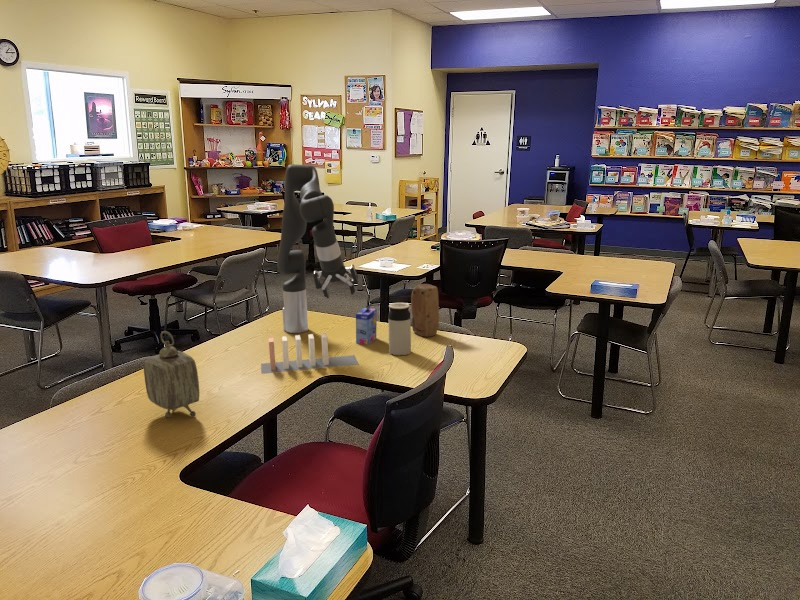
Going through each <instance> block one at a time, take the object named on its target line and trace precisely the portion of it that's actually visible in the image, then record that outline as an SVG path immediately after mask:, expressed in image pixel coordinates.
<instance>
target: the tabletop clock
mask: <svg viewBox="0 0 800 600" xmlns="http://www.w3.org/2000/svg"><path fill="white" fill-rule="evenodd" d="M163 334H165V335H167V336H168V337H170V340H171V344H170V341H169V340H166V341H165V340H164V339H163ZM159 338H160V341H161V342H162V344H163V345H165V346H164V347H162V348H161V349H160V350H159V353H158V354H155V355H152V356H149V357H147V359H146V360H145V361H144V362H143V373H144V374H143V375H144V384H145V390H146V394H147V398H148V400H149V401H150V402H151V403H153V404H154V405H156V406H158V407H160V408H163V409H165V410H167V412H165V414H164V416H165V417H166V418H167V419H168V418H170V417H171V416H172V413H171V412H170V411H174V410H177V409H180V408H185V409H186V410H187V411H188V412H189V416H190V417H192V418H194V417H196V414H197V413H196V411H194V410H193V411H192V409H191V408H190V406H189V405H191V404H195V403H197V402H199V401H200V381H199V374H198V369H197V364H196V361H195V360H196V359H194V358H193V357H192V356H191V355H190V354H187V353H185V352H183V351H181V350H177V348H176V347H175V346H174V345H175V339H174V337H173V334H172V333H171V332H169V331H167V330H163V331H161V333H160V337H159Z"/></svg>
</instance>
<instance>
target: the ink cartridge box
mask: <svg viewBox="0 0 800 600" xmlns="http://www.w3.org/2000/svg"><path fill="white" fill-rule="evenodd" d="M371 306H372V304H369V305H368V307H363V308H362V309H360V310H359V311H358V312H357V313H355V344H360V345H369V344H371V343H373V342H374V341H375V340H376V339H377V322H378V321H377V320H378V319H377V311H378V310H377V308H371Z"/></svg>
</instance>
